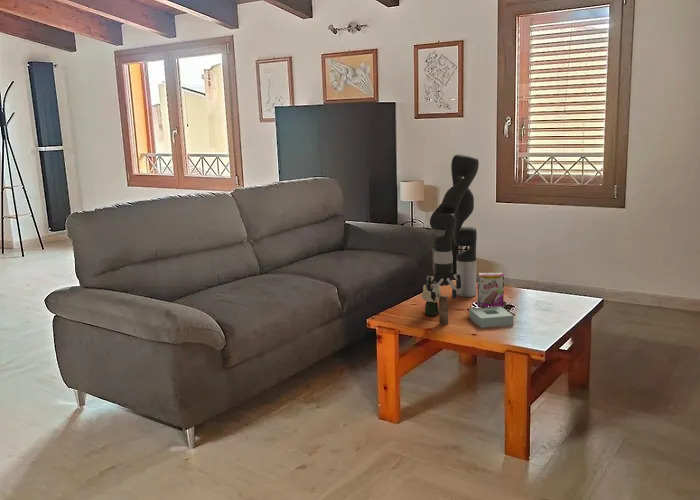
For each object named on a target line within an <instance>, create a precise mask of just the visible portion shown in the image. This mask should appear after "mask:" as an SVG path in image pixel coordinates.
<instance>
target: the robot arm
mask: <svg viewBox="0 0 700 500" xmlns="http://www.w3.org/2000/svg"><path fill="white" fill-rule="evenodd" d="M479 164H480V162H479V159H478V158H477V157H475V156H471V155H465V154H455V155H454V156H452V160H451V164H450V168H451V169H450V170H451V180H452V186H451V187H450V188H448V190H447V191H446V192H445V194H444V196H443V199H442V201H441V203H440V204H439V205H438V207H437V208H435V210H434V211H433V212H432V214H431V216H430V218H429V226H430V227H431V229H432V230H436V231H445V232H444V234H442V235H438V236H435V238H434V254H433V263H434V265H433V267H434V268H433V270H434V271H433V272H434V274H433V275H432V276H431V275H427V276H426V284H425V285H426V289H427V290H428V291H431V299H432V300H433V301H435V300H436V299H435V290H436V289H437V288H438V287H439V286H440V287H443V286H450V287H451V288H452V289H451V298H452V299H453V300H455V299H456V298H457V296H458V297H460V298H461V297H463V298H471V297H475V296H477V239H478V238H477V237H478V235H477V234H478V233H477V228H476V227H474V226H463V224H464V223H465V221H466V220H467V219H468V218H469V217H470V216H471V215H472V213H473V211H474V207H475V203H474V202H475V198H474V197H475V196H474V194H473V192H472V190H471V189H470V186H471V184H472V182H473V181H474V179H475V177H476V176H477V173H478V171H479V167H480V166H479ZM453 243H454V246H456V247H468V248H467V249H466V250H464V251H461V252H459V253H457V254H456V273H455V274H454V273H453V272H454V271H453V270H454V269H453V268H454V267H453V262H454V258H453ZM453 279H454V280H455V282H456V283H453V282H452V281H453ZM433 280H434V283H432V282H433ZM431 284H433V286H432V287H431ZM455 284H456V285H455Z"/></svg>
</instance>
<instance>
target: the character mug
mask: <svg viewBox="0 0 700 500" xmlns="http://www.w3.org/2000/svg"><path fill="white" fill-rule="evenodd" d="M433 284H434V283H431V287H432V286H433ZM422 288H423V289H422V290H423V291H422V292H421V298H422V300H423V301H425V305H424V314H426V315H427V316H437V315H439V296H440V295H441V294H442V290H441V286H440V285H439V287H438V288H437V289H436V290H435V299H436V300H435V301H433V300H432V299H431V291H428V290H427V289H426V284H424V285H423V286H422Z"/></svg>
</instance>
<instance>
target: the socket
mask: <svg viewBox="0 0 700 500" xmlns="http://www.w3.org/2000/svg"><path fill="white" fill-rule="evenodd" d="M468 309H469V311H468V312H469V314H468V315H469V317H468V318H469V319H470V320H471V321H473V323H475V324H476V325H477V326H478V327H480V328H483V329H485V328H491V327H493V328H494V327H505V326H513V325H514V316H515V315H513V314H512V313H511V312H510V311H508V310H506V309H505V308H504V307H503V308H502V307H501V306H497V307H485V308H477V307H476V308H468Z"/></svg>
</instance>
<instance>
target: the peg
mask: <svg viewBox="0 0 700 500" xmlns="http://www.w3.org/2000/svg"><path fill="white" fill-rule="evenodd" d="M448 302H449V296H448V295H445V294H443V295H440V296H439V300H438V309H439V314H438V315H439V318H438V319H439V320H438V323H439V325H440V326H448V325H449V303H448Z"/></svg>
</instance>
